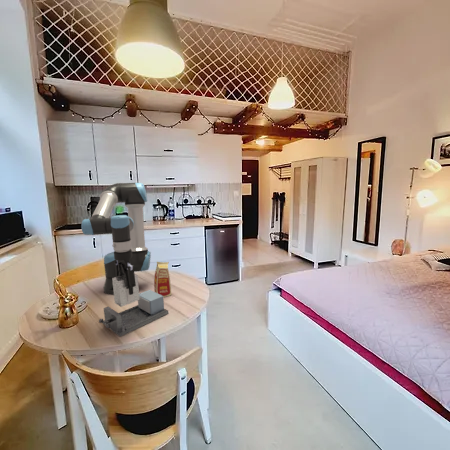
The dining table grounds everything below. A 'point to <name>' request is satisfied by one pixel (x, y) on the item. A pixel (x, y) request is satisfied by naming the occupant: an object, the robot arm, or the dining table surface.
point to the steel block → (124, 290)
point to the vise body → (128, 319)
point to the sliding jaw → (151, 302)
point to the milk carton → (162, 279)
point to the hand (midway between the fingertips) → (127, 298)
